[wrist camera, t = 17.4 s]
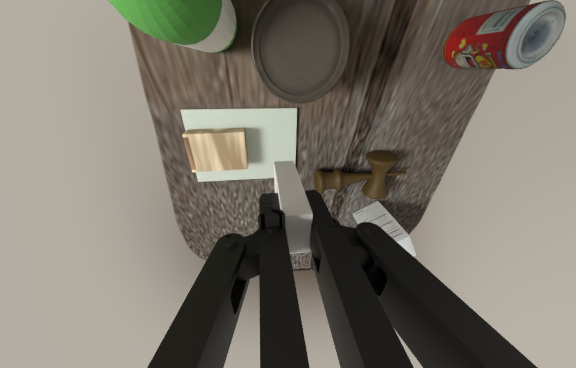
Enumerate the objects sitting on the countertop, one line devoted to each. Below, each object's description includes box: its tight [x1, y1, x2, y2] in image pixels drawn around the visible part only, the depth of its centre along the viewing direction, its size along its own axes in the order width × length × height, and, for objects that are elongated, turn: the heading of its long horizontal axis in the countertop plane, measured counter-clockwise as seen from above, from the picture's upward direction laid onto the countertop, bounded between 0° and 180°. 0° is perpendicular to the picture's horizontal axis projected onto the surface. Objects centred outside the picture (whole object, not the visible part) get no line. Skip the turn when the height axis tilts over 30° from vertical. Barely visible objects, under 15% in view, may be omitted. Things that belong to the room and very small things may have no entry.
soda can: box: [442, 0, 566, 69], centre depth 30 cm, size 7×7×12 cm
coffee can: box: [251, 0, 350, 104], centre depth 27 cm, size 10×10×14 cm
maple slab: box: [182, 128, 249, 172], centre depth 37 cm, size 3×7×10 cm
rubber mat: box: [181, 108, 297, 182], centre depth 39 cm, size 20×14×1 cm
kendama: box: [315, 151, 407, 199], centre depth 44 cm, size 6×10×20 cm
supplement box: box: [353, 201, 417, 257], centre depth 48 cm, size 7×7×13 cm
